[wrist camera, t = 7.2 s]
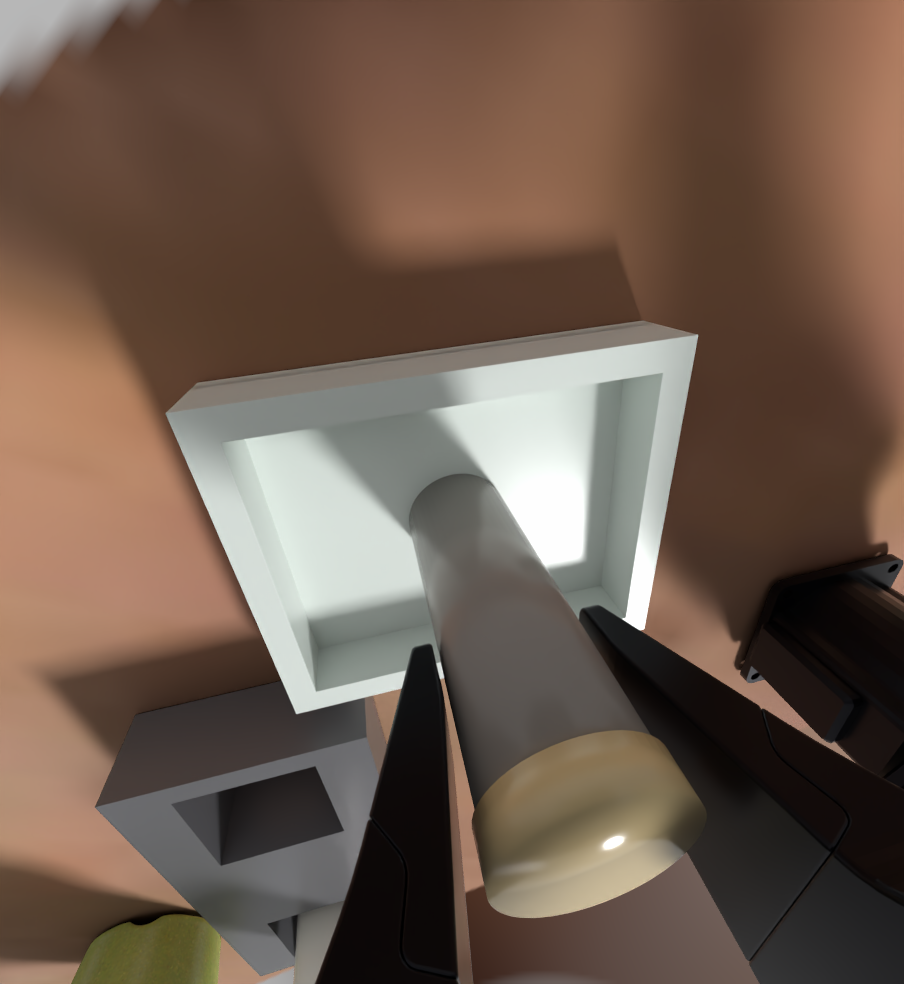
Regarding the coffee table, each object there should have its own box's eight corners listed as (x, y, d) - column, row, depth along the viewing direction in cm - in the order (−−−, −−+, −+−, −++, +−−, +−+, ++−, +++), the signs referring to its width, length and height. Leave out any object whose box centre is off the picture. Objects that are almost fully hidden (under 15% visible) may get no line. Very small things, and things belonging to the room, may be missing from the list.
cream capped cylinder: (504, 461, 13) (729, 764, 6) (507, 547, 15) (684, 875, 7) (397, 480, 13) (479, 838, 5) (412, 567, 14) (492, 939, 7)
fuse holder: (362, 661, 17) (366, 737, 14) (417, 853, 25) (425, 923, 22) (135, 715, 16) (95, 807, 13) (269, 897, 24) (260, 976, 21)
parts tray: (643, 320, 13) (698, 334, 11) (610, 586, 18) (644, 629, 16) (197, 382, 11) (165, 413, 9) (302, 656, 16) (296, 713, 14)
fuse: (357, 825, 22) (366, 1133, 14) (369, 853, 24) (382, 1145, 16) (292, 843, 22) (265, 1171, 14) (308, 871, 23) (292, 1179, 16)
